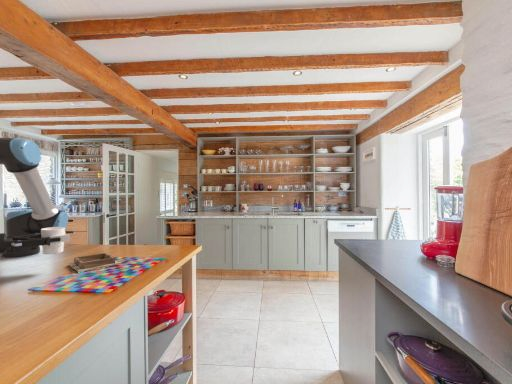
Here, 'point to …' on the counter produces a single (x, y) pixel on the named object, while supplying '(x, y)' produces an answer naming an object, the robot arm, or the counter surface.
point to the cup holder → (93, 262)
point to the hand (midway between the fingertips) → (67, 236)
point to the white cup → (53, 247)
